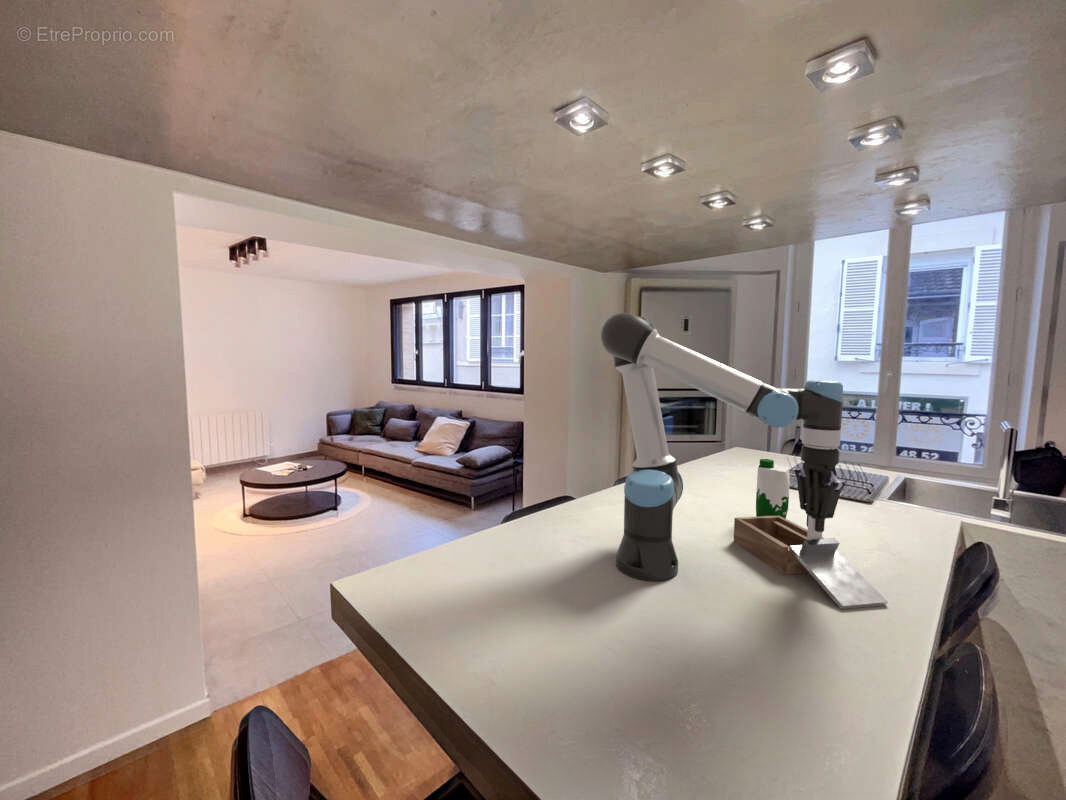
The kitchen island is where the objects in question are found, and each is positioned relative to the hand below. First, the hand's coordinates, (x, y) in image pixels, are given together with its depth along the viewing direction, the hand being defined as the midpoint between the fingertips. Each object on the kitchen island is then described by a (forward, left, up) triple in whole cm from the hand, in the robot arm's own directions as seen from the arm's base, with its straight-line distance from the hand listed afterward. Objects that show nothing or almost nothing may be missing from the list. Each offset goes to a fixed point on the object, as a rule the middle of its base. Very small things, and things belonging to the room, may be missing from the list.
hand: (814, 542), depth 107 cm
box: (0, +11, -8) cm, 14 cm away
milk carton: (+14, +34, -9) cm, 38 cm away
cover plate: (0, -6, -5) cm, 8 cm away
